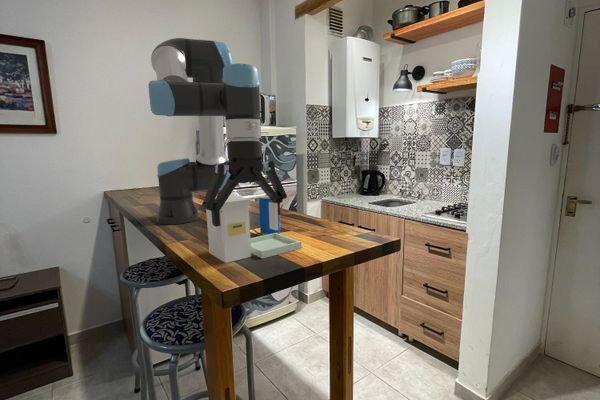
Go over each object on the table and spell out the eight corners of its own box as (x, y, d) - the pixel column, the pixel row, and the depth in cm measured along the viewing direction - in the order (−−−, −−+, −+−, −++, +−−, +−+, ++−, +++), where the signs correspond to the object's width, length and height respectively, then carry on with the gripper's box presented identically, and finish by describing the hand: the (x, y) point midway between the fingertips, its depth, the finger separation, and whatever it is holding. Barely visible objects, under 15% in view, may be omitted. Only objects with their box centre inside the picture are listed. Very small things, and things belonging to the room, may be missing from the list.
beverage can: (277, 236, 100) (276, 198, 98) (257, 236, 102) (256, 198, 100) (283, 231, 107) (281, 194, 105) (264, 230, 108) (262, 194, 106)
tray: (239, 247, 91) (238, 240, 91) (276, 238, 98) (275, 232, 98) (262, 258, 81) (261, 251, 81) (301, 248, 89) (301, 241, 88)
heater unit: (207, 252, 87) (203, 197, 84) (233, 246, 91) (230, 194, 89) (225, 263, 78) (221, 203, 76) (253, 256, 83) (250, 199, 80)
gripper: (194, 140, 61) (202, 249, 65) (299, 139, 76) (301, 227, 80) (181, 141, 67) (189, 241, 70) (281, 140, 82) (284, 222, 85)
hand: (249, 234), depth 75 cm, fingers open, 13 cm apart
